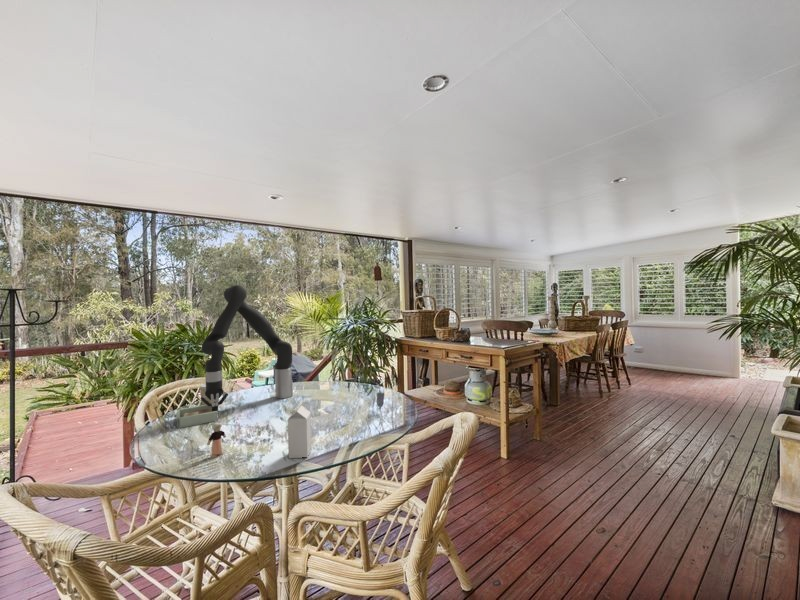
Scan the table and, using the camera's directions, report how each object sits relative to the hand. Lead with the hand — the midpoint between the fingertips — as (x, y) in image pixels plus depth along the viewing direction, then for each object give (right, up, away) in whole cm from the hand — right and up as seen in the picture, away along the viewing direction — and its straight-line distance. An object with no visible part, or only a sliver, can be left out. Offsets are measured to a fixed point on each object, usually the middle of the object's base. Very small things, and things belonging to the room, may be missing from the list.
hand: (215, 413), depth 180 cm
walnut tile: (-5, -2, 0) cm, 6 cm away
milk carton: (+56, -2, -44) cm, 71 cm away
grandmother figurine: (+24, -3, -43) cm, 49 cm away
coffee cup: (-12, -2, +16) cm, 20 cm away
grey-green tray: (-7, -2, -4) cm, 8 cm away
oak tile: (-10, -2, -4) cm, 11 cm away
